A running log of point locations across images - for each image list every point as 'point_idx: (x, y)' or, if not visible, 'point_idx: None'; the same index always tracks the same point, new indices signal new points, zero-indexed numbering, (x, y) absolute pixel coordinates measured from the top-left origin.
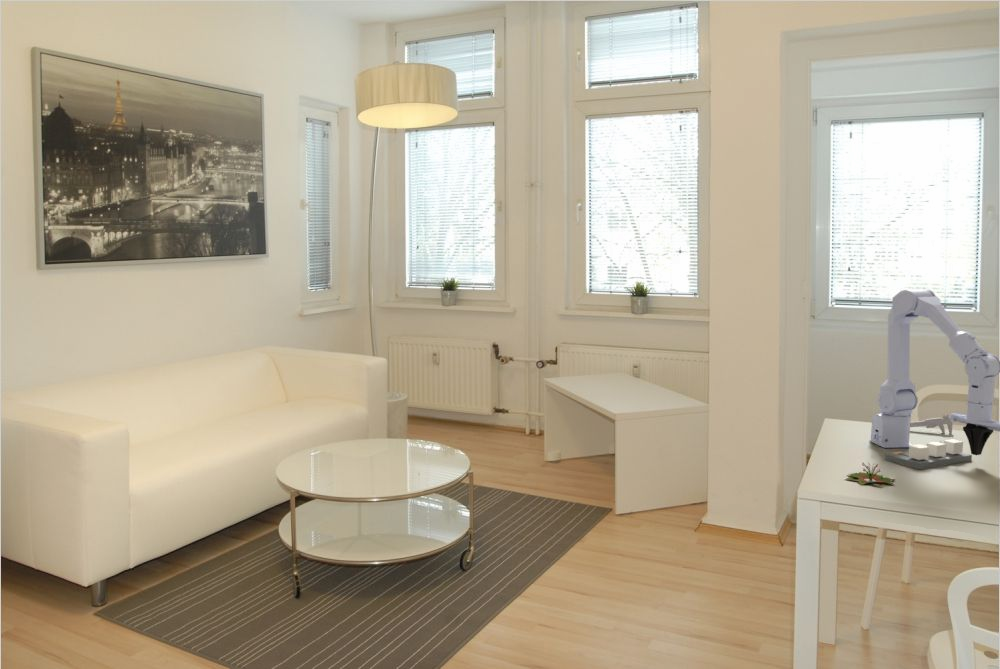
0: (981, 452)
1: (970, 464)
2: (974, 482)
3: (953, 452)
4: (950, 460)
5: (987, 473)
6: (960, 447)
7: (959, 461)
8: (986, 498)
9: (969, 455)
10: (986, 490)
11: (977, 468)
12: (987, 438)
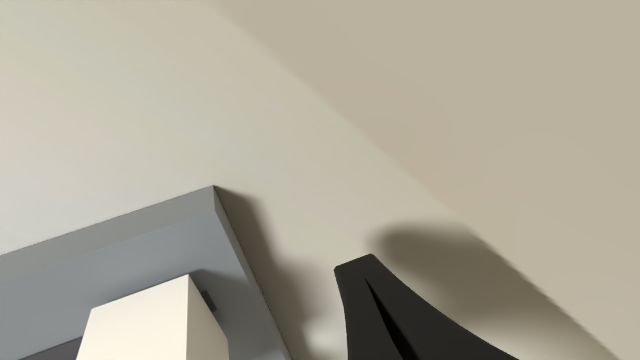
0: (381, 263)
1: (299, 236)
2: (507, 334)
3: (227, 349)
4: (282, 347)
5: (457, 241)
6: (198, 331)
7: (256, 283)
8: (597, 356)
9: (224, 231)
10: (568, 333)
11: (377, 241)
12: (490, 351)
